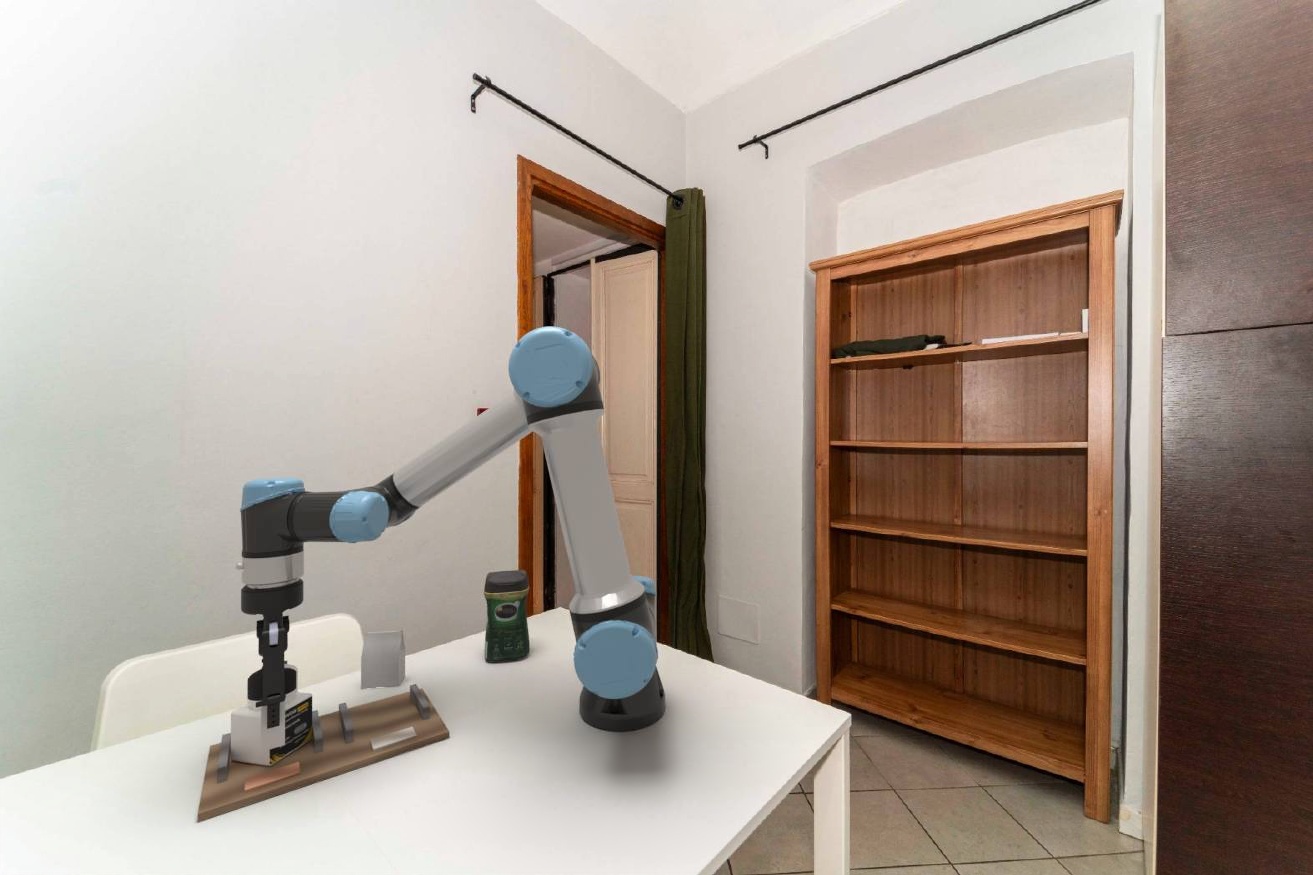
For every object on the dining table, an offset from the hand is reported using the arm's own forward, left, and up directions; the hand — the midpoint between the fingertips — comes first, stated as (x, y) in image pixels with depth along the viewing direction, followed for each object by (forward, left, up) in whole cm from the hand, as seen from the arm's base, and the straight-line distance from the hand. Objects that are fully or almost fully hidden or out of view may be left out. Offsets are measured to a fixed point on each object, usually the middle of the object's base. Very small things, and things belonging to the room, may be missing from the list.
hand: (272, 729), depth 77 cm
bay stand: (-2, -7, -4) cm, 9 cm away
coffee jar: (+14, -41, -4) cm, 44 cm away
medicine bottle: (0, 0, -3) cm, 3 cm away
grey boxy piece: (+16, -17, -4) cm, 24 cm away
